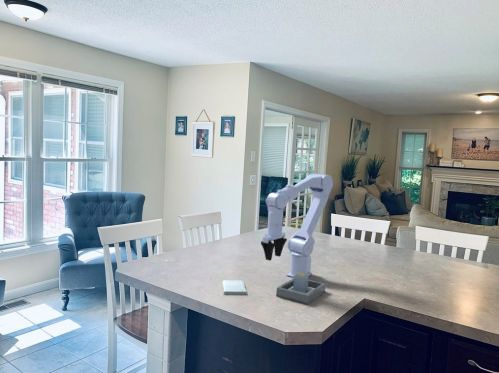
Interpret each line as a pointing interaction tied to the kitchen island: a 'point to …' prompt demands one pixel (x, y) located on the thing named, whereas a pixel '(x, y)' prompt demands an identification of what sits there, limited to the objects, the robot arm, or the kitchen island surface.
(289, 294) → the dock
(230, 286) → the hard drive
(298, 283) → the plug
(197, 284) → the kitchen island surface
